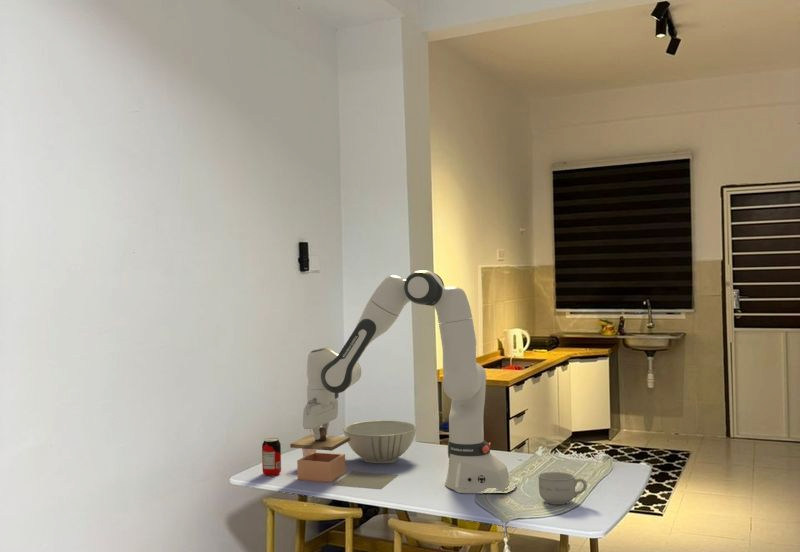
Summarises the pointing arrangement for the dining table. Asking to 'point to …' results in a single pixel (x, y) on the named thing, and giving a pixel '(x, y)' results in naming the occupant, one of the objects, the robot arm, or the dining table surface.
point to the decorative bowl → (380, 439)
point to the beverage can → (271, 456)
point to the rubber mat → (366, 480)
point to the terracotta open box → (321, 467)
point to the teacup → (559, 487)
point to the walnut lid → (320, 441)
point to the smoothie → (308, 450)
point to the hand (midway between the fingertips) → (320, 437)
